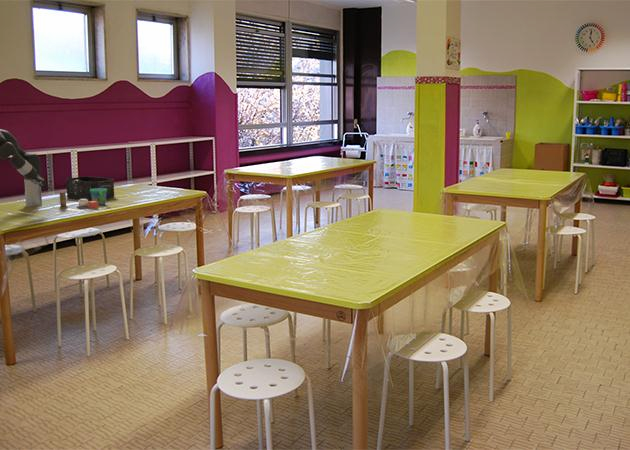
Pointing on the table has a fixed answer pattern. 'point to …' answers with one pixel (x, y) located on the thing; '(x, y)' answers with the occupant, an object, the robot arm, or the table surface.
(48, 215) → the table surface
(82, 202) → the dome
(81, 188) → the storage bin
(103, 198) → the snack cup
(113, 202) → the table surface
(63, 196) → the pawn
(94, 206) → the board
